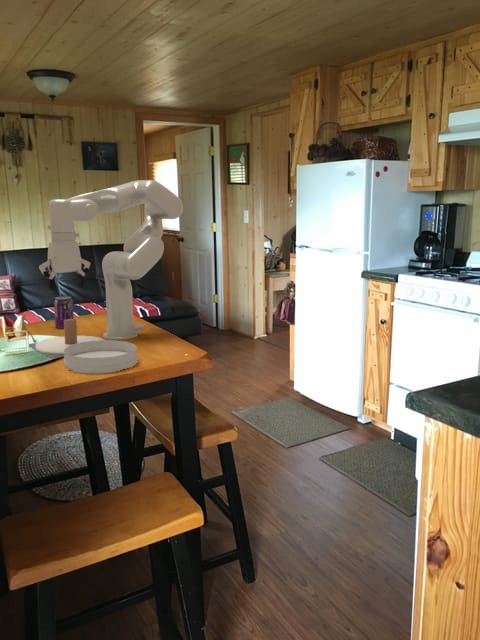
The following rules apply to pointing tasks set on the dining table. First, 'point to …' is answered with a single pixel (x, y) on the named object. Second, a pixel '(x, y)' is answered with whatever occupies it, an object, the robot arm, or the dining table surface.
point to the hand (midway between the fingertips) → (67, 289)
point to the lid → (64, 339)
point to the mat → (45, 353)
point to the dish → (100, 356)
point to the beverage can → (63, 310)
